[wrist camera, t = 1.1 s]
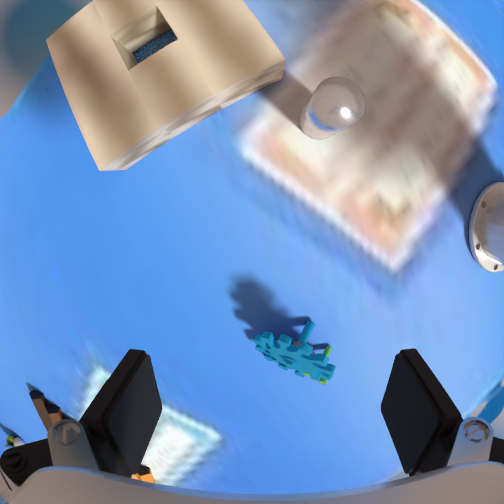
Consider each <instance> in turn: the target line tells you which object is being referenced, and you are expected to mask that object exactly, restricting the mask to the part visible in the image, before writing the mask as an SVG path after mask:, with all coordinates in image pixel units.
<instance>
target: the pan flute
mask: <svg viewBox="0 0 504 504" xmlns="http://www.w3.org/2000/svg"><path fill="white" fill-rule="evenodd" d="M29 394H30V396H31V399H32V401H33V403H34V405H35V407H36V410H37V412H38V414H39V416H40V418H41V420H42V422H43V424H44V426H45V427H46V429H47V431H49V428H50V427H51V426H52V425H53V424H54V423H56V422H57V421H60V420H63V419H65V418H64V416H63V414H62V412H61V409H60V407H57V406H55V405H52V404H49V405H48V404H47V401H46V399H45V397H44V394H43V393H41V392H39V391H37V390H33V391H31V392H30V393H29ZM66 419H70V418H68V417H67V418H66ZM131 478H133V479H137V480H141V481H146V482H151V483H155V482H154V479H153V476H152V473H151V470H150V468H149V467H145V466H141V465H140V467H139V470H138V472H137V474H136V475H133V474H132V477H131Z"/></svg>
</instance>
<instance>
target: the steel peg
mask: <svg viewBox="0 0 504 504" xmlns="http://www.w3.org/2000/svg"><path fill="white" fill-rule="evenodd" d="M365 108H366V101H365V97H364V95H363V93H362V91H361V89H360V88H359V87H358V86H357V85H356V84H355V83H353V82H352V81H350V80H348V79H346V78H342V77H331V78H328V79H325V80H324V81H322V82H321V83H320V84H319V85H318V87H317V88H316V90H315V91H314V93H313V95H312V96H311V98H310V99H309V101H308V103H307V104H306V106H305V107H304V109H303V111H302V112H301V114H300V117H299V124H300V128H301V130H302V131H303V132H304V134H305V135H307V136H308V137H310V138H312V139H315V140H323V139H326V138H328V137H330V136H332V135H334V134H336V133H338V132H340V131H342V130H344V129H345V128H347V127H349V126H351V125H353V124H355V123H357V122H358V121H359V120H360V119H361V118H362V117H363V115H364V112H365Z"/></svg>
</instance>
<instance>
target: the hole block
mask: <svg viewBox="0 0 504 504" xmlns="http://www.w3.org/2000/svg"><path fill="white" fill-rule="evenodd" d="M170 29H172V30H173V31H174V33H175V35H176V36H177V38H178V39H177V40H176V41H174V42H172V43H170V44H169V45H167V46H165V47H164V48H162V49H160V50H159V51H157V52H156V53H154V54H153V55H151V56H149V57H148V58H146V59H145V60H143V61H142V62H140V63H139V64H138V63H137V61H136V59H135V57H134V55H133V52H135V51H136V50H138V49H139V48H141V47H142V46H144V45H145V44H147V43H148V42H150V41H152V40H153V39H155V38H156V37H158V36H160V35H161V34H163V33H165V32H166V31H168V30H170ZM46 42H47V45H48V48H49V51H50V54H51V57H52V60H53V63H54V65H55V68H56V71H57V74H58V76H59V79H60V82H61V84H62V87H63V89H64V92H65V94H66V97H67V99H68V102H69V104H70V107H71V109H72V112H73V114H74V116H75V119H76V121H77V123H78V126H79V128H80V130H81V132H82V135H83V137H84V139H85V141H86V143H87V146H88V148H89V150H90V152H91V154H92V156H93V158H94V160H95V162H96V165H97V167H98V169H99V171H107V170H126V169H128V168H129V167H130V166H132V165H133V164H135V163H136V162H138V161H139V160H140V159H142V158H143V157H145V156H146V155H148V154H149V153H151V152H152V151H154V150H155V149H157V148H158V147H160V146H161V145H163V144H164V143H166V142H167V141H169V140H170V139H172V138H174V137H175V136H177V135H178V134H180V133H182V132H183V131H185V130H186V129H188V128H190V127H191V126H193V125H195V124H196V123H198V122H200V121H202V120H203V119H205V118H207V117H209V116H210V115H212V114H214V113H216V112H217V111H219V110H221V109H223V108H225V107H227V106H228V105H230V104H232V103H234V102H236V101H238V100H240V99H242V98H244V97H246V96H248V95H250V94H252V93H254V92H256V91H258V90H260V89H262V88H264V87H266V86H268V85H270V84H272V83H274V82H277V81H279V80H281V79H282V77H283V71H284V66H285V61H286V59H285V58H284V56H283V55H282V53H281V52H280V50H279V49H278V48H277V46H276V45H275V43H274V42H273V40H272V39H271V38H270V36H269V35H268V33H267V32H266V31H265V29H264V28H263V26H262V25H261V24H260V22H259V21H258V20H257V18H256V17H255V16H254V14H253V13H252V12H251V11H250V9H249V8H248V7H247V5H246V4H245V3H244V2H243V0H93V1H92V2H90V3H89V4H88V5H86V6H85V7H84V8H82V9H81V10H80V11H79V12H77V13H76V14H75V15H74V16H73V17H71V18H70V19H69V20H68V21H67V22H65V23H64V24H63V25H62V26H61V27H60V28H58V29H57V30H56V31H55V32H54V33H53V34H52V35H51V36H50V37H49V38H48V39H47V40H46Z"/></svg>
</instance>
